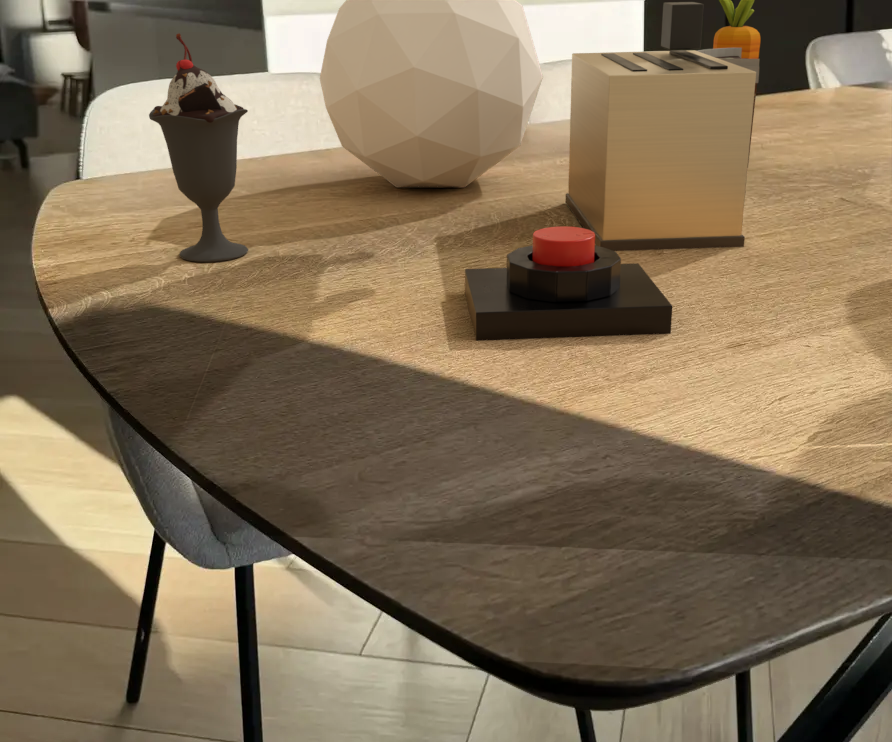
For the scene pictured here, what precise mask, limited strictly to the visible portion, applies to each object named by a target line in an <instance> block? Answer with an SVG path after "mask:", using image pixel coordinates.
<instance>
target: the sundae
mask: <svg viewBox="0 0 892 742" xmlns="http://www.w3.org/2000/svg"><path fill="white" fill-rule="evenodd" d="M175 36H176V37H175V38H176V40H178V42H179V43H180V44H181V45H182V46H183V48H184V55H183V59H179V60H178V61H177V63H176V65H175V67H176V70H177V71H176V73H175V75H173V77H172V79H170V81H169V84H168V89H167V99H166V100H165V102H164V103H163V104H162V105H155V106H154V107H153V109H152V110H150V112H149V114H148V118H149V119H150V121H153V122H155V123H157V124H158V125H159V126H160V129H161V132H162V134H163V137H164V138H163V139H164V140H165V143H166V148H167V151H168V152H167V153H168V156H169V160H170V164H171V169H172V173H173V176H174V178H175V179H174V180H175V182H176V185H177V187H178V190H179V191H180V192H181V193H182V194H183V195H184V196H185V198H187V199H188V200H189V201H191V202H192V203H194V204H195V206H197V207H198V208H199V209H200V213H201V214H200V215H201V221H202V223H201V225H202V226H201V227H202V228H201V229H202V230H201V235H200V237H199V240H198V241H197V243H196V244H194V245H191V246H188V247H186V248H184V249H182V250H181V251H180V252H179V254H178V256H179V257H180V258H181V259H182V260H185V261H188V262H194V263H195V262H196V263H218V262H225V261H229V260H235V259H238V258H242V257H244V256H246V255H247V253H248V252H249V248H248V247H247V246H246V245H245V244H241V243H237V242H232V241H230V240H229V239H228V238H226V236H225V235H224V233H223V230H222V228H221V224H220V219H219V206H220V205H221V203H223V201H224V200H225V199H227V198H228V197H229V195H230V194H231V192H232V191H233V189H234V188H235V185H236V177H237V168H238V166H237V165H238V163H237V161H238V136H239V126H240V125H239V124H240V120H241V118H242V117H243V116H244V115H246V114H247V113H248V111H249V110H248V109H246V108H244V107H243V106H241V105H238V104H235V103H234V102H233V101H232V100H231V99H230V98H229V97H228V96H226V95H225V94H224V93H223V92H222V91H221V89H220V88H219V87H218V84H217V82H216V79H214V78H213V76H212V75H211V74H210V73H209V72H208V71H206V70H205V69H202V68H200V67H198V66H195V65H194V64H193V59H192V54H191V52H190V50H189V48H188V46H187V45H186V43H185V41H184V40H183V39H182V36H181V33H179V32H178V33H176V35H175ZM187 57H188V58H187Z"/></svg>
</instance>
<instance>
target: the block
mask: <svg viewBox="0 0 892 742" xmlns="http://www.w3.org/2000/svg"><path fill="white" fill-rule="evenodd" d="M532 259H533V244H532V245H527V246H522V247H518V248H516V249H514V250H512V251H511V252H509V253H507V254H506V267H489V268H486V267H485V268H484V267H483V268H465V269H464V296H465V301H466V304H467V308H468V313H469V316H470V321H471V325H472V329H473V334H474V337H475V341H476V342H480V341H509V340H536V339H537V340H539V339H563V338H564V339H565V338H593V337H617V336H618V337H621V336H622V337H623V336H645V335H647V336H648V335H650V336H651V335H670V334H671V331H672V320H673V319H672V318H673V305H672V303H671V302H670V300H668V299H667V297H666V296H665V295H664V294H663V292H662V291H661V290H660V288H659V286H657V284H655V282H654V281H653V279H652V278H651V277H650V276H649V275H648V273H647V272H646V271H645V269H644V268H643V267H642V266H641V264H640V263H637V262H635V263H622V258H621V257H620V255H619V254H618V253H617V251H613V250H610V249H606V248H603V247H600V246H597V245H595V252H594V263H590V264H585V265H580V266H552V265H543V264H538V263H535V262H533V261H532Z"/></svg>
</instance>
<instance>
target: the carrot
mask: <svg viewBox="0 0 892 742" xmlns="http://www.w3.org/2000/svg"><path fill="white" fill-rule="evenodd" d="M718 2H719V3H720V5H721V7H722V10H723V11H724V14H725V16H726V19H727V20H728V23H729V25H728V26H723V27H721V28H719V29H718V30H717V31H716V32H715V34H714V36H713V46H712V49H717V48H742V52H741V59H743V58H748V59H760V58H759V57H760V48H761V33H760V32H759V31H758V29H756V28H754V27H752V26H749V25H745V23H746V22H747V21H748V20H749V18H750V17H752V15H753V14H754V13H755V10H754V9H753V8H752V7H753V5H754V3H755V0H740V1H739V3H738V5H737V7H736V8H735V6H734V3H733V1H732V0H718Z"/></svg>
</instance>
